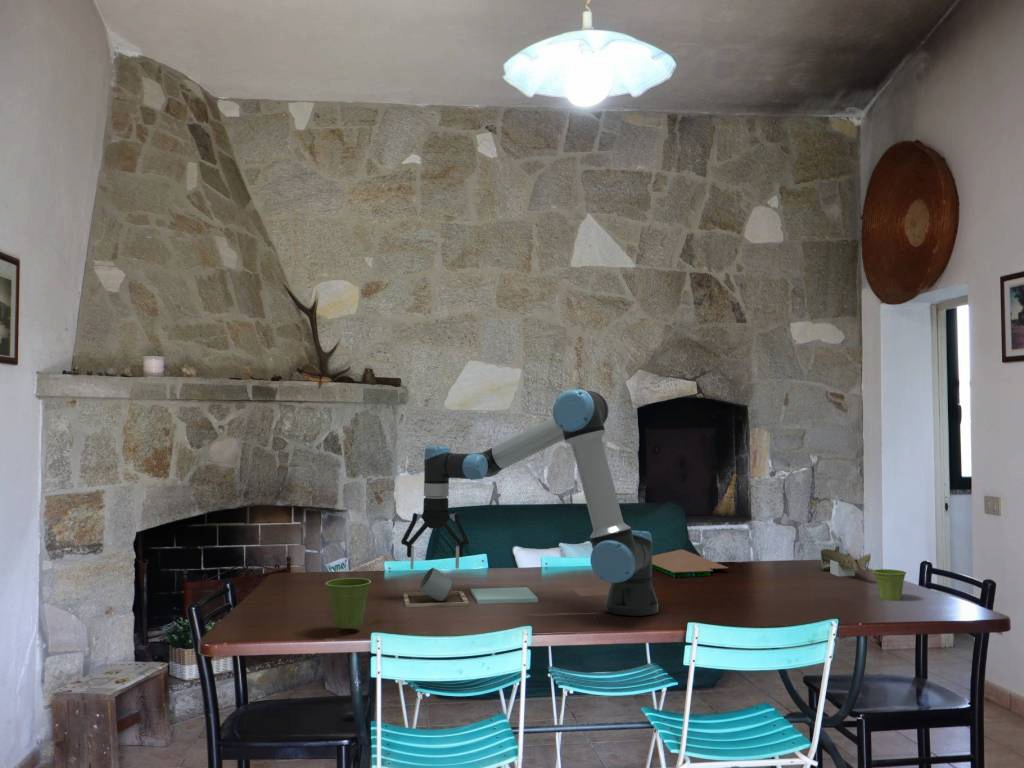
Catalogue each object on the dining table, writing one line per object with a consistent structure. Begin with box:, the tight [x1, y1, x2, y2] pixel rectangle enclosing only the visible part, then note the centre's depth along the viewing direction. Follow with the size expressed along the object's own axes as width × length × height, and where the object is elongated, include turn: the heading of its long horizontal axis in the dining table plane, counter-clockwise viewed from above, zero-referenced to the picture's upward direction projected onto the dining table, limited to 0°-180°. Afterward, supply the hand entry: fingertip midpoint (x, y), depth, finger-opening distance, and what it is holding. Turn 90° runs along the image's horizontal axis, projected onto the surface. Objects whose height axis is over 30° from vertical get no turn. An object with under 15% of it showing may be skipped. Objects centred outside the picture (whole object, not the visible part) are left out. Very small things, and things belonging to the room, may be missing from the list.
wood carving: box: [820, 545, 872, 577], centre depth 304 cm, size 9×35×11 cm, turn 4°
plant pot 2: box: [872, 568, 907, 602], centre depth 268 cm, size 9×9×9 cm
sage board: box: [470, 586, 539, 605], centre depth 269 cm, size 18×18×1 cm
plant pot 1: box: [324, 577, 372, 629], centre depth 231 cm, size 12×12×11 cm
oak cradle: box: [402, 590, 470, 608], centre depth 264 cm, size 18×18×1 cm
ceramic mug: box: [418, 567, 454, 603], centre depth 264 cm, size 11×8×8 cm
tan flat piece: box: [652, 548, 729, 578], centre depth 320 cm, size 23×33×8 cm
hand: (434, 568), depth 265 cm, fingers open, 13 cm apart
